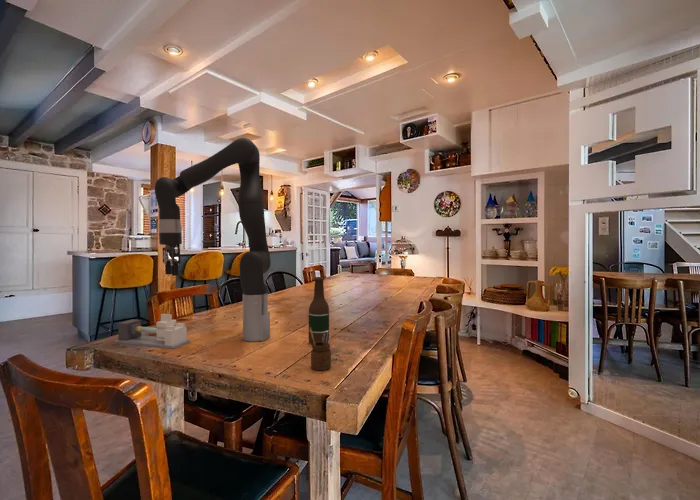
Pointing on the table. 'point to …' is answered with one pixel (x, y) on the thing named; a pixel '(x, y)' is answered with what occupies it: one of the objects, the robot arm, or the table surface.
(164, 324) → the cream stepped block
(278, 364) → the table surface
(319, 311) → the beer bottle
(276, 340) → the table surface
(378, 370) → the table surface
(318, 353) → the utensil holder
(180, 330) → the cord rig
